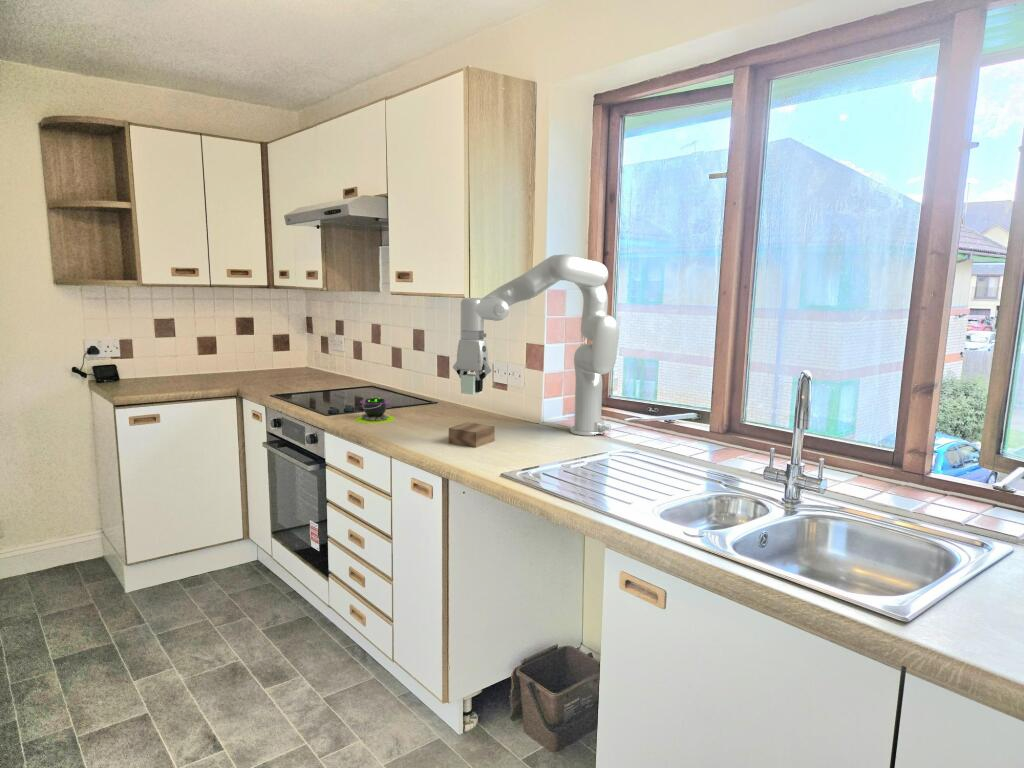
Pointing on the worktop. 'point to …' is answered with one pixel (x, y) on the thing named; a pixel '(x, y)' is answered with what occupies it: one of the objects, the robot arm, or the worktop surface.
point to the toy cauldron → (374, 411)
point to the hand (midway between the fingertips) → (471, 390)
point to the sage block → (468, 384)
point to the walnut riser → (471, 434)
